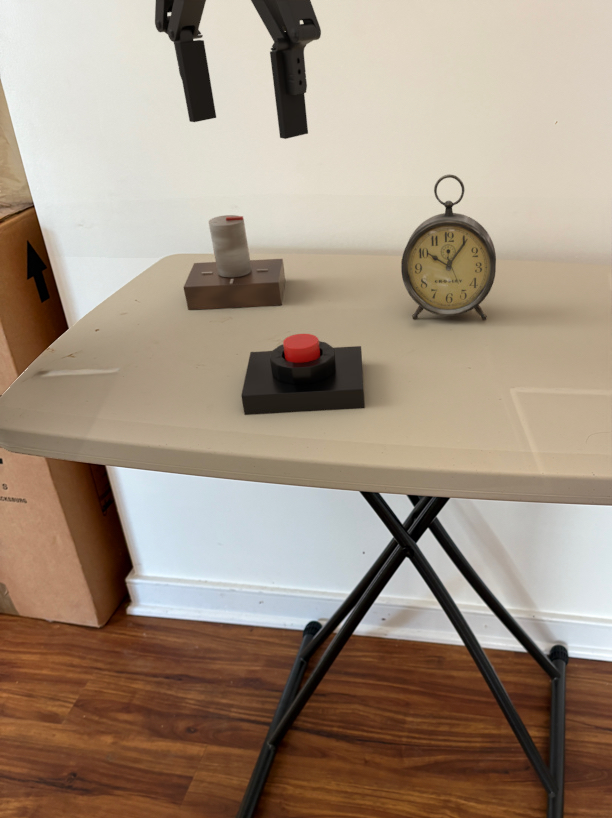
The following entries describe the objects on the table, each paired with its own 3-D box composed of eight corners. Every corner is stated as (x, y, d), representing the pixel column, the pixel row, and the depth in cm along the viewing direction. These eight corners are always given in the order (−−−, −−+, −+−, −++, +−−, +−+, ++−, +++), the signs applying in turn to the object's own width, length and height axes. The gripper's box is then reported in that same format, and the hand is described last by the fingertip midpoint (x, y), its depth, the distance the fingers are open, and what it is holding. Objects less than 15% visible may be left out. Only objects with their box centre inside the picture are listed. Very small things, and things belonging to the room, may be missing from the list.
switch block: (244, 415, 76) (238, 379, 73) (253, 370, 83) (247, 336, 81) (364, 408, 76) (362, 372, 73) (362, 364, 84) (360, 330, 81)
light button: (284, 365, 76) (281, 349, 75) (286, 350, 79) (283, 334, 78) (320, 363, 76) (318, 347, 75) (320, 348, 79) (319, 332, 78)
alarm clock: (402, 324, 92) (397, 180, 82) (407, 307, 96) (404, 168, 86) (492, 326, 91) (499, 180, 81) (494, 308, 95) (500, 168, 85)
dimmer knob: (215, 278, 97) (205, 223, 93) (219, 266, 101) (210, 213, 97) (250, 276, 98) (241, 221, 93) (253, 265, 101) (244, 211, 97)
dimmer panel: (188, 310, 97) (182, 285, 95) (198, 284, 104) (193, 261, 102) (281, 305, 98) (278, 280, 96) (285, 280, 105) (282, 257, 103)
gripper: (351, -197, 54) (368, 135, 67) (152, -164, 67) (199, 108, 80) (270, -206, 50) (305, 151, 63) (75, -169, 63) (138, 119, 76)
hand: (246, 127), depth 72 cm, fingers open, 13 cm apart
